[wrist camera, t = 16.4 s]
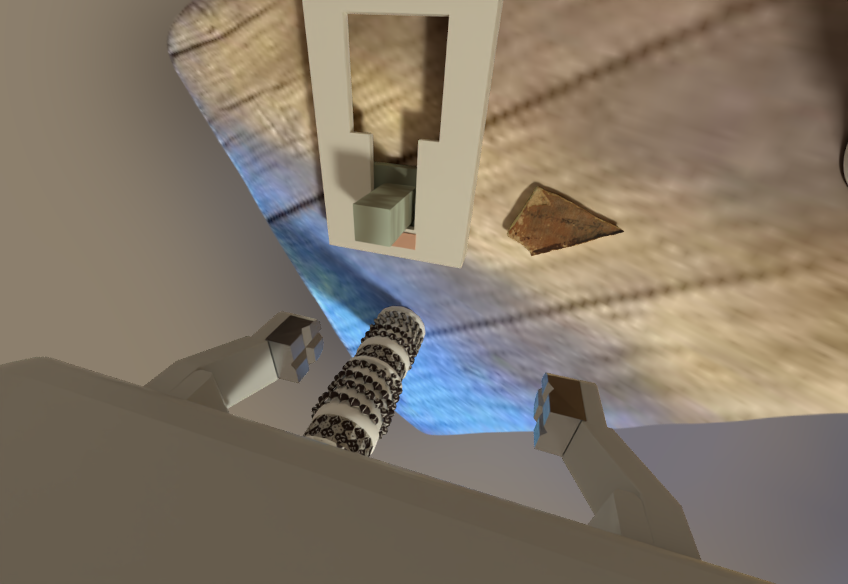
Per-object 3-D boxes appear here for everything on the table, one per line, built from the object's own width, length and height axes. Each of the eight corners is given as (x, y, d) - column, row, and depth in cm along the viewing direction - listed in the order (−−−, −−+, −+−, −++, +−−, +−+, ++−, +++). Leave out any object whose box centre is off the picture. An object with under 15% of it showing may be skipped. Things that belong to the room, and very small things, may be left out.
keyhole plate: (503, -5, 29) (500, -18, 25) (466, 254, 43) (460, 269, 40) (323, -8, 32) (298, -20, 29) (343, 233, 47) (329, 245, 43)
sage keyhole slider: (436, 168, 38) (410, 191, 30) (431, 231, 43) (407, 267, 34) (374, 161, 40) (332, 180, 31) (375, 222, 44) (339, 254, 36)
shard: (621, 226, 37) (625, 232, 35) (576, 276, 41) (578, 283, 40) (538, 181, 37) (538, 185, 35) (502, 236, 41) (501, 241, 40)
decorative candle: (366, 306, 53) (264, 443, 32) (418, 300, 49) (340, 449, 29) (385, 349, 57) (305, 494, 36) (434, 346, 53) (376, 505, 33)
